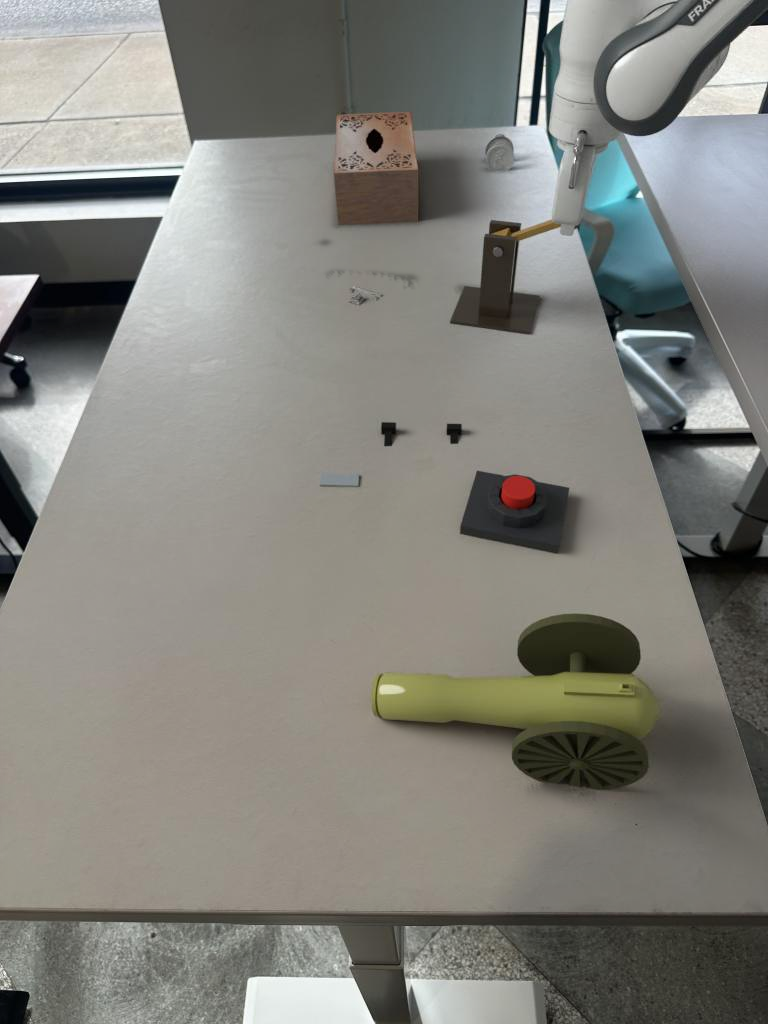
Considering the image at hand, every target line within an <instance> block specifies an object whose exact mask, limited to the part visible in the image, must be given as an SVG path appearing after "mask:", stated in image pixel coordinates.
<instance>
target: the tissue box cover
mask: <svg viewBox="0 0 768 1024" xmlns="http://www.w3.org/2000/svg"><path fill="white" fill-rule="evenodd" d="M335 119H336V120H335V142H334V143H335V144H334V160H333V161H334V162H333V163H334V164H333V179H334V180H333V181H334V192H335V203H336V214H337V215H336V216H337V225H338V226H351V225H352V226H353V225H354V226H355V225H374V224H398V223H417V222H419V166H418V165H419V164H418V157H417V150H416V142H415V135H414V127H413V120H412V119H413V118H412V112H411V111H392V112H387V111H386V112H369V113H368V112H367V113H350V114H349V113H346V114H336V118H335Z"/></svg>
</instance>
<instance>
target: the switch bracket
mask: <svg viewBox="0 0 768 1024" xmlns="http://www.w3.org/2000/svg"><path fill="white" fill-rule="evenodd" d="M507 228H510V231H511V233H514V232H517V231H520V230H522V223H521V222H513V221H506V220H495V219H490V221H489V224H488V233H484V236H483V243H482V244H483V246H482V260H481V273H480V286H479V287H476V286H469V285H464V286H463V288H462V291H461V294H460V296H459V298H458V300H457V303H456V306H455V307H454V311H453V312H452V315H451V317H450V320H449V324H451V325H457V326H465V327H472V328H479V329H486V330H493V331H499V332H507V333H515V334H522V335H527V336H530V333H531V329H532V326H533V323H534V319H535V316H536V312H537V308H538V305H539V301H540V298H541V297H540V295H539V294H538V295H537V294H531V293H523V292H515V285H516V275H517V267H518V258H519V248H520V241H517V242H516V237H511V236H503V235H494V234H493V233H495V232H498V231H501V230H504V229H507Z"/></svg>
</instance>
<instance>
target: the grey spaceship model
mask: <svg viewBox="0 0 768 1024" xmlns="http://www.w3.org/2000/svg"><path fill="white" fill-rule="evenodd" d="M347 291H348V292H349V293H353V292H354V291H358V292H356V293H354V294H353V295H352V296H351V299H350V300H348V302H349V303H352V304H355V305H358V306H359V305H361V304H362V303H363V302H364V301H365V300H366V298H365V297H363V294H361V293H360V292H362V293H364V294H367V295H370V296H373V298H372V300H374V301H378V300H379V299H380V298H381V297H382V296H383V294H381V293H378V292H375V291H372V290H369V289H366V288H362V287H360V286H356V285H352V287H351V288H349V290H347Z"/></svg>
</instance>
